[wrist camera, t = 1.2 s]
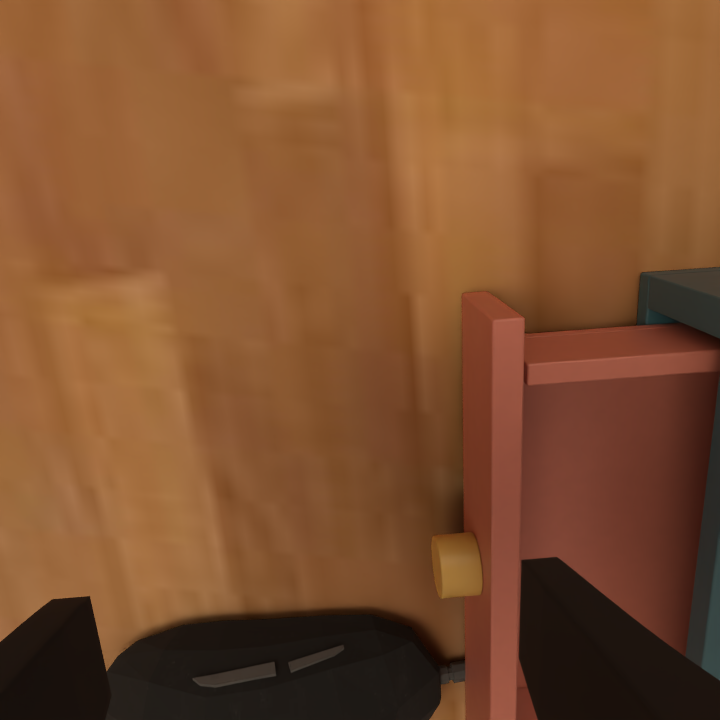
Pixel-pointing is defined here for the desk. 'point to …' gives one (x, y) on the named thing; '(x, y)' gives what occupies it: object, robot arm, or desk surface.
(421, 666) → the gaming mouse
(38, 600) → the desk surface
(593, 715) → the robot arm
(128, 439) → the desk surface
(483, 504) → the drawer
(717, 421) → the teal drawer box
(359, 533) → the desk surface
